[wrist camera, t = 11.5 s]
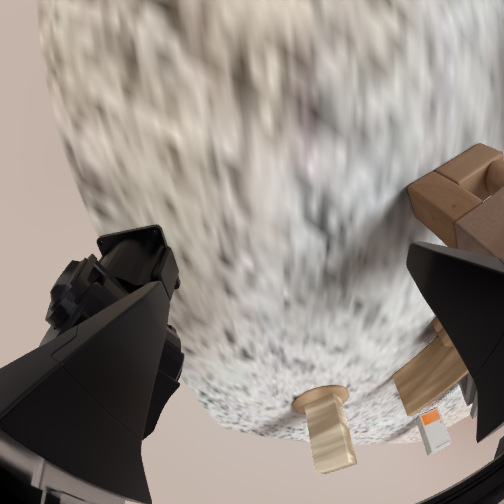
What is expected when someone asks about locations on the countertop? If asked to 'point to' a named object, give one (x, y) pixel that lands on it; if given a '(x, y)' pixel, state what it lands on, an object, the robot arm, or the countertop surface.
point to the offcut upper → (445, 338)
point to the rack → (429, 375)
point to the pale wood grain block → (329, 434)
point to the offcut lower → (436, 325)
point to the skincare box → (433, 431)
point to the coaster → (319, 396)
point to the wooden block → (465, 201)
